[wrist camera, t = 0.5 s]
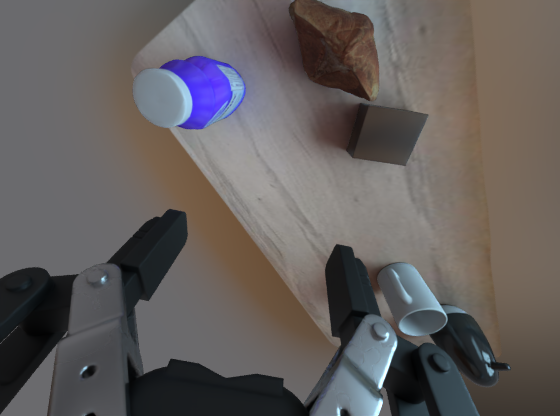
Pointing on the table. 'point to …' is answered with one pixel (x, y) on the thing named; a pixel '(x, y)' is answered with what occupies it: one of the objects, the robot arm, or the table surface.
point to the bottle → (188, 92)
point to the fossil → (337, 47)
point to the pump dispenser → (468, 347)
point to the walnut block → (385, 134)
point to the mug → (410, 300)
